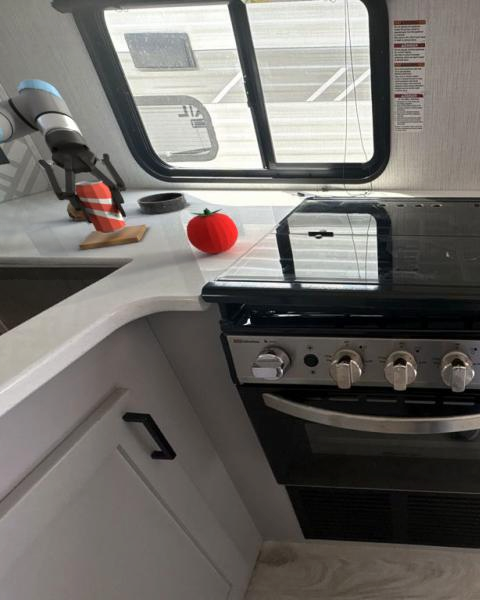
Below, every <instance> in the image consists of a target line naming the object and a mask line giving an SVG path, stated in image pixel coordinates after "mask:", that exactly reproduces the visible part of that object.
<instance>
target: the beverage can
mask: <svg viewBox="0 0 480 600" xmlns="http://www.w3.org/2000/svg"><path fill="white" fill-rule="evenodd" d="M75 194H77V195H78V197H79V198H80V200H81V202H82V204H83V206H84V208H85V210H86V212H87V213H88V215H89V217H90V219H91V221H92V223H91V224H92V225H93V227H94V229H95V231H100V232H102V233H111V232H116V231H119V230H121V229H123V227H126V224H127V223H126V222H125V220H124V217H122V215H121V213H120V211H119V209H118V207H117V205H116V203H115V201H114V199H113V197H112V195H111V192H110V190H109V188H108V187H107V186H106V185H105V184H103V183H102V181H101V180H98V179H90V180H89V179H88V180H83V181H78V182H75Z"/></svg>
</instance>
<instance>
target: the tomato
mask: <svg viewBox="0 0 480 600" xmlns="http://www.w3.org/2000/svg"><path fill="white" fill-rule="evenodd" d="M221 210H222V208H219V209H217V210H214V211H211V210H210V209H209V208H207V207H206V208H205V209H203V210H202V211H203V212H202V213H201V212H191V214H192V215H196V216H194V217H192V218H191V219H190V220H188V223H187V225H186V236H187V240H188V241H189V243H190V244H191V246H193V247H194V248H195V249H197V250H198V251H201V252H203V253H206V254H212V255H213V254H214V255H215V254H222V253H225V252H226V251H229V250H230V249H232V247H234V245H236V242H237V240H238V239H239V238H238V237H239V230H238V227H237V225H236V224H235V223H236V222H234V220H233V219H232V218H231V217H230V216H228V215H227V214H225V213H221V212H220V211H221Z"/></svg>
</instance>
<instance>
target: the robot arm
mask: <svg viewBox="0 0 480 600" xmlns="http://www.w3.org/2000/svg"><path fill="white" fill-rule="evenodd" d="M17 91H18V95H16V96H12V97H10V98H8V99H5V100H1V101H0V145H2V144H8V143H11V142H13V141H15V140H17V139H21V138H23V137H26V136H29V135H31V134H35V133H36V132H37V133H38V132H39V133H40V135H41V137H42V139H43V140H44V142H45V144H46V146H47V148H48V150H49V151H50V153H51V158H50V159H47V160H45V159H41V158H40V159H38V161H37V162H38V163H39V166H40V167H41V169H42V170H43V171H44V172H45V173H46V176H47V178H48V180H49V183H50V185H51V189H52V190H53V193H54V195H55V196H56V198H57V199H58V201H69V202H70V203H71V205H72V206H73V208H74V210H75V211H76V212H77V211H82V212H83V214H84V216H85V218H86V220H87V221H86V222H87V224H88V225H90V224H91V225H92V224H93V223H92V221H91V219H90V217H89V215H88V213H87V212H86V210H85V208H84V206H83V204H82V202H81V200H80V198H79V197H78V195H77V193H76V191H75V190H76V185H75V183H76V177H77V176H76V175H77V174H82V173H84V174H85V173H87V174H88V173H89V174H91V175H92V177H95V178H96V180H101V181H102V183H103V184H105V185H106V186H107V187H108V188H109V190H110V192H111V195H112V197H113V199H114V201H115V203H116V205H117V207H118V209H119V211H120V214H121V216H122V218H126V217H127V214H126V211H125V210H124V208H123V206H122V205H124V204H125V199H124V197H123V194H122V193H121V192H125V191H127V187H126V184H125V182H124V181H123V179H122V177H121V176H120V174H119V172H118V171H117V170H116V168H115V166H114V165H113V164H112V161H111V157H110V155H109V154H108V153H103V154H102V155H100V154H96V153H95V152H93V151H92V150H91V149H90V147H89V144H88V143H87V141H86V139H85V138H84V136H83V134H82V132H81V130H80V128H79V126H78V124H77V123H76V121H75V120H74V118H73V115H72V114H71V111H70V110H69V107H68V106H67V102H66V101H65V100H64V99H63V98H62V96H61V95H60V93H59V91H58V90H57V88H56V87H54V86H53V85H52V84H51V83H49V82H46V81H44V80H42V79H36V78H28V79H24V80H22V81H20V83H19V84H18V85H17ZM98 162H99V163H100V164H101V165H102V166H105V168H106V170H107V172H108V173H109V174H110V176H111V178H112V179H113V180H114V182H115V183H114V182H113V181H112V180H111V179H110V178H109V177H108V176H107V175H106V174H105V173H103V172H102V170H100V169H99V168H98V167H97V166H96V164H97V163H98ZM55 166H57V167H59V168H61V169H63V170H64V182H65V183H64V184H65V185H64V186H65V187H64V188H65V189H64V190H65V191H63V190H62V188H61V185H60V183H59V180H58V177H57V175H56V173H55V170H56V167H55Z"/></svg>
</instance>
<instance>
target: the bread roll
mask: <svg viewBox="0 0 480 600" xmlns="http://www.w3.org/2000/svg"><path fill="white" fill-rule="evenodd" d="M66 212H67V214H68V217H69V218H70V220H71V221H75V222H76V221H77V222H78V221H81V222H87V220H86V218H85V216H84V214H83V212H82V211H77V212H76V211H75V210H74V208H73V206H72V205H71V203H70V201H69V202H68V203H67V206H66Z"/></svg>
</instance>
